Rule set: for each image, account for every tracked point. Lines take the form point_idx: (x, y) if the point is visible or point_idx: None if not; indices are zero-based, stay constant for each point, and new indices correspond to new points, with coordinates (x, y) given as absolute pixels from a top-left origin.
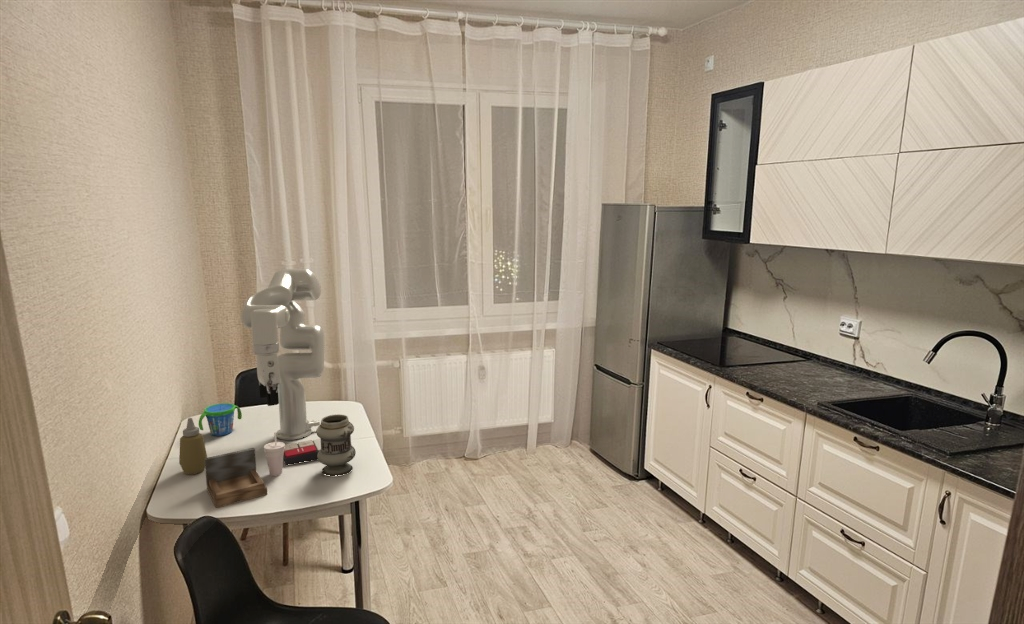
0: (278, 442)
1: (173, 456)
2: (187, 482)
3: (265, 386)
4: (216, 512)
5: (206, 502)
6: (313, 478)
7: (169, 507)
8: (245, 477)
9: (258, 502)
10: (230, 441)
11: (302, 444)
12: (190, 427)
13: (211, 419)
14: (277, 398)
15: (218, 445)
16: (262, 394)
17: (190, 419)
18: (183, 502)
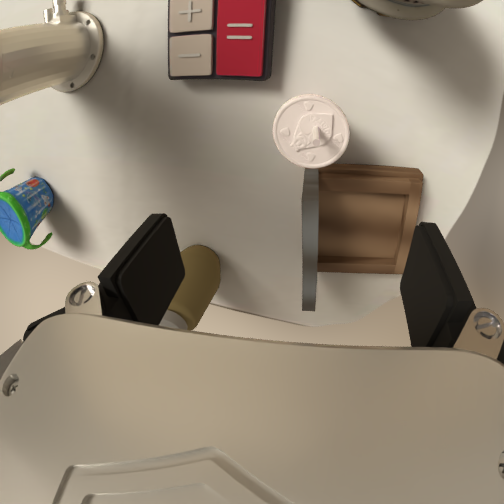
0: (285, 112)
1: None
2: (252, 276)
3: (137, 306)
4: None
5: None
6: (400, 45)
7: (342, 310)
8: (329, 197)
9: (439, 195)
10: (76, 182)
11: (192, 21)
12: None
13: (33, 229)
14: (448, 258)
15: (90, 204)
16: (174, 279)
17: None
18: (338, 294)
